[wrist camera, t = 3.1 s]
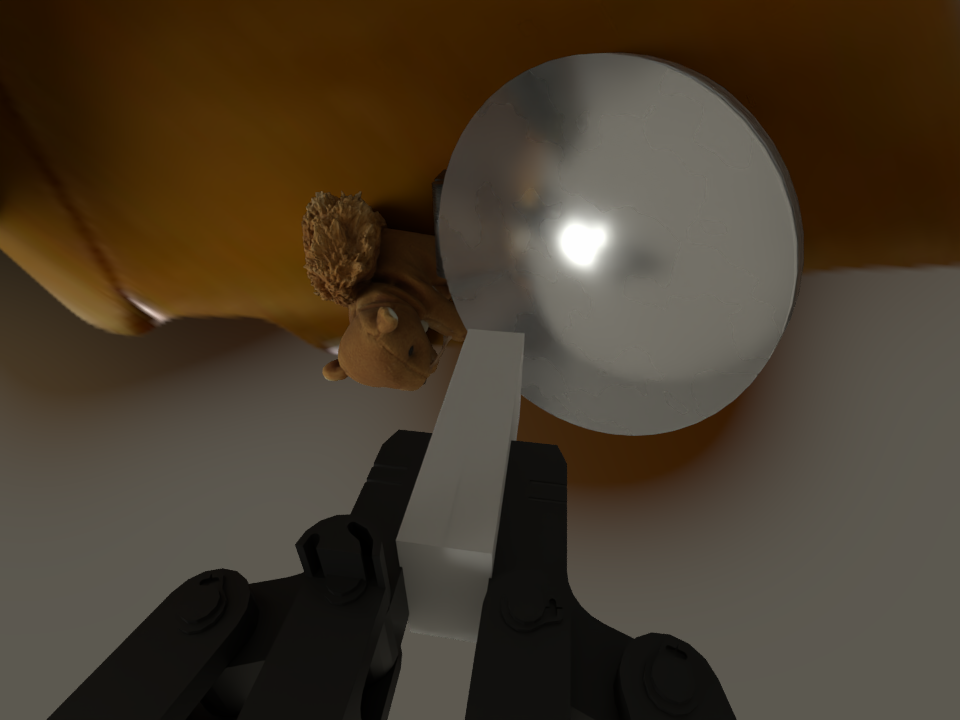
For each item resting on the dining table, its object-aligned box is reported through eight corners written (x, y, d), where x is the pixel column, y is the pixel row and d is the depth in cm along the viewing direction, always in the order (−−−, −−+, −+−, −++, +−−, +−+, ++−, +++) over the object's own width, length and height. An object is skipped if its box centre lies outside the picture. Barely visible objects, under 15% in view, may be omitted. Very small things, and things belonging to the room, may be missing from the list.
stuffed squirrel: (418, 352, 43) (369, 458, 32) (296, 231, 38) (189, 307, 27) (504, 291, 38) (480, 390, 27) (377, 144, 33) (287, 194, 23)
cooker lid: (452, 347, 28) (435, 358, 27) (442, 49, 20) (417, 49, 19) (726, 473, 20) (715, 494, 19) (899, 57, 12) (895, 58, 11)
